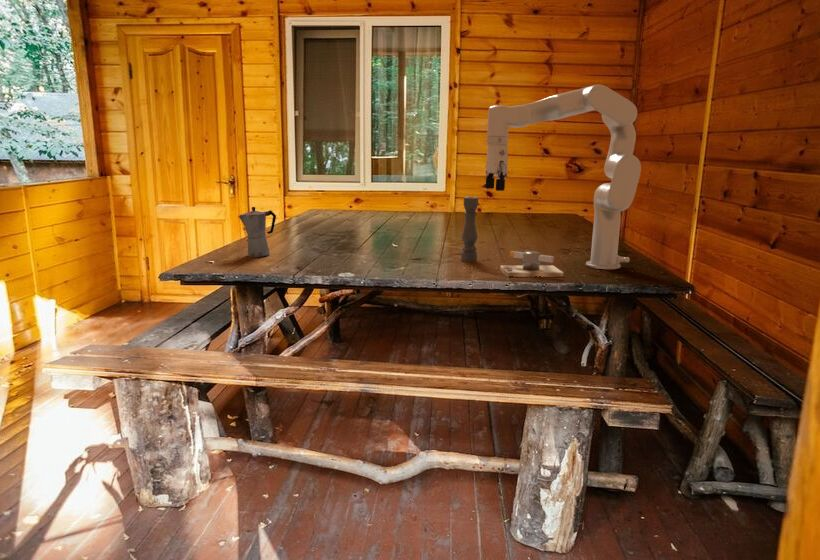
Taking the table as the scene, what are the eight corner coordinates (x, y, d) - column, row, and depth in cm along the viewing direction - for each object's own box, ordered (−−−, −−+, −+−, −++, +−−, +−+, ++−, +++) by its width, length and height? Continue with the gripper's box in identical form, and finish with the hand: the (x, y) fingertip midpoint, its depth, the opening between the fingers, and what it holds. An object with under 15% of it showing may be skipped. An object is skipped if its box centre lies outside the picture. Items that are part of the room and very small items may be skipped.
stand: (552, 269, 210) (553, 264, 210) (563, 276, 198) (563, 271, 198) (499, 269, 209) (500, 264, 209) (507, 276, 197) (507, 271, 197)
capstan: (555, 270, 201) (556, 254, 200) (548, 272, 196) (549, 256, 195) (514, 264, 211) (515, 248, 209) (506, 266, 206) (507, 251, 204)
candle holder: (463, 262, 222) (465, 198, 216) (459, 259, 227) (461, 196, 222) (478, 261, 223) (481, 198, 217) (473, 258, 229) (476, 196, 223)
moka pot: (236, 255, 230) (233, 206, 226) (272, 251, 239) (270, 204, 235) (245, 259, 223) (242, 208, 218) (281, 255, 232) (279, 206, 227)
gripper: (516, 141, 195) (514, 191, 199) (497, 141, 212) (495, 187, 216) (496, 141, 194) (494, 191, 198) (478, 141, 210) (476, 187, 214)
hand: (494, 189), depth 207 cm, fingers open, 9 cm apart
